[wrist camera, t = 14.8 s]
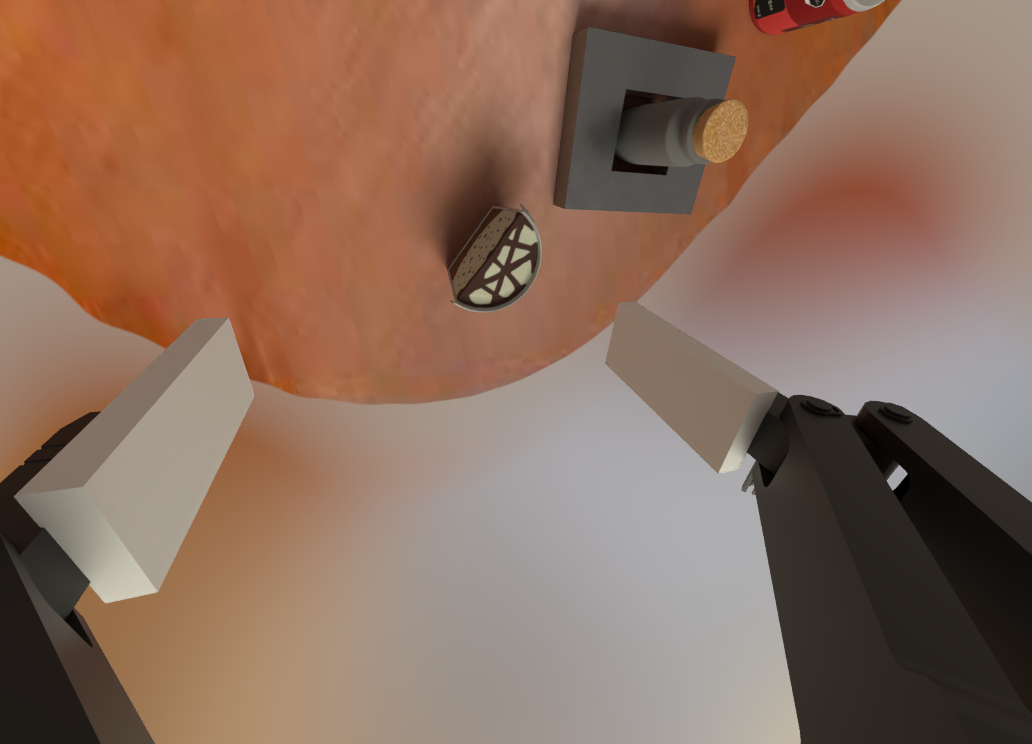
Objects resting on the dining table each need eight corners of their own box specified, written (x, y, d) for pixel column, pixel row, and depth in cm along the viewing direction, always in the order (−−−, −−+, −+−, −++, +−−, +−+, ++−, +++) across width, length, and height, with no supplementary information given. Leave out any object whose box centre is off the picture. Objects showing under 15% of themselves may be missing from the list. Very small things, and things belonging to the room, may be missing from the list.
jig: (572, 35, 38) (588, 26, 36) (712, 62, 44) (736, 56, 41) (553, 204, 46) (564, 208, 44) (673, 210, 52) (690, 214, 49)
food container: (478, 305, 50) (497, 336, 42) (440, 279, 47) (453, 308, 39) (536, 228, 47) (569, 246, 39) (500, 194, 44) (527, 206, 36)
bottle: (623, 174, 47) (710, 184, 35) (601, 131, 44) (688, 125, 32) (660, 140, 46) (761, 137, 34) (640, 93, 43) (744, 72, 31)
